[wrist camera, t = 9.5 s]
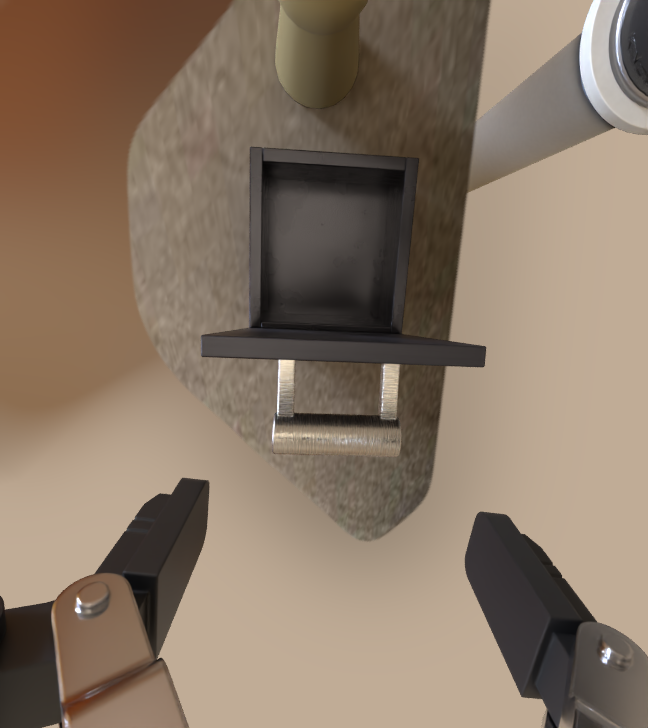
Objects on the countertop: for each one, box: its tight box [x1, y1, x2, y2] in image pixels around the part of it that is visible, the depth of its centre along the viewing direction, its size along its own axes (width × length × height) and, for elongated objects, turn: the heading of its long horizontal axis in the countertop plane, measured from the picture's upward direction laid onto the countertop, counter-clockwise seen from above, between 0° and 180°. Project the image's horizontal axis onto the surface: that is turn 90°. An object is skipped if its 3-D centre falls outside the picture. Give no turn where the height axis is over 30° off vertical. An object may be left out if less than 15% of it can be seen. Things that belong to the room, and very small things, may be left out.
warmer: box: [249, 147, 419, 334], centre depth 29 cm, size 12×11×6 cm
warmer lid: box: [201, 328, 486, 457], centre depth 21 cm, size 12×11×5 cm
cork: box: [275, 0, 368, 108], centre depth 23 cm, size 6×6×11 cm
